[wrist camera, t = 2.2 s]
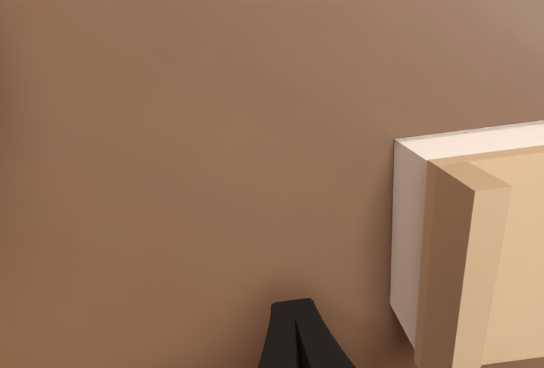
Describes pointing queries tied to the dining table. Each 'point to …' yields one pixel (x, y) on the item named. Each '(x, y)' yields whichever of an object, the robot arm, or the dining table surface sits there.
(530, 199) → the lid
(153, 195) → the dining table surface
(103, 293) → the dining table surface
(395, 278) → the box
